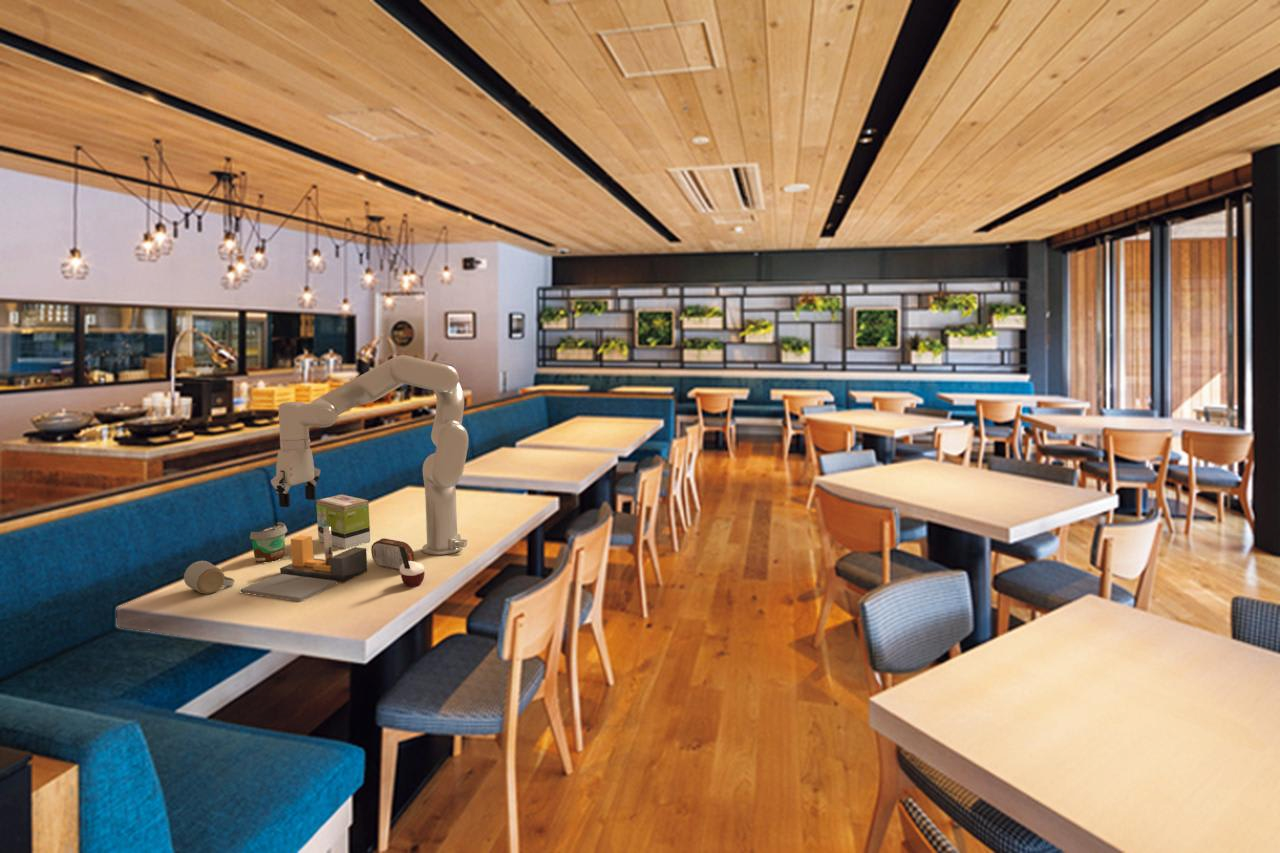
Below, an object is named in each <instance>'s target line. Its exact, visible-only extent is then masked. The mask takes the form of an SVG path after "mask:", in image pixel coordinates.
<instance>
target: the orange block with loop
mask: <svg viewBox="0 0 1280 853" xmlns="http://www.w3.org/2000/svg"><path fill="white" fill-rule="evenodd" d="M313 543H314V542H313V536H312V535H303V534H300V535H296V536H295V537H292V538H290V548H291V550H290V551H291V564H292V565H294V566H302V567H304V566H311V567H313V569H314V570H322V571H330V572H331V565H330V566H328V565H326V563H325V561H321V560H314V559H315V558H314V547H313V545H314V544H313ZM313 558H314V559H313Z"/></svg>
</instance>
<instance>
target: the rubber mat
mask: <svg viewBox="0 0 1280 853" xmlns="http://www.w3.org/2000/svg"><path fill="white" fill-rule="evenodd" d="M336 585H337V582H336V581H332V580H325V579H317V578H310V577H302V576H294V575H287V574H280V573H276V574H274V575H272V576H270V577H267V578H264V579H262V580H259V581H257V582H255V583H252V584H250V585H248V586H245V587H243V588H240V589H239V590H240V591H239V592H242V593H241V594H245V593H250V594H249V595H252V594H256V595H255V596H259V595H263V596H262V597H265V596H269V597H268V598H272V597H276V598H275V599H279V598H283V599H282V600H286V599H289V600H288V601H293V600H297V601H296V602H300V601H301V602H303V601H305V600H306V598H307V599H309V598H311V597H312V596H315V595H318V594H319V593H322V592H324V591H325V590H327V589H330V588H333V587H334V586H336ZM304 599H305V600H304ZM302 600H303V601H302Z"/></svg>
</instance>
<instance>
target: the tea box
mask: <svg viewBox="0 0 1280 853" xmlns="http://www.w3.org/2000/svg"><path fill="white" fill-rule="evenodd" d="M315 506H316V519H317V534H318V541H319V542H321V543H324V530H323V527H325V526H331V536H332V546H334V547H338V548H341V549H343V550H346V548H347V549H351V548H354V547H357V546H360V545H359V544H361V545H363V544H362V543H364V544H366V542H367V543H370V542H371V525H370V509H369V506H370V504H369V500H367V499H363V498H359V497H354V496H349V495H347V494H337V495H333V496H330V497H325V498H320V499H315ZM369 541H370V542H369ZM356 545H357V546H356ZM353 546H354V547H353ZM350 547H351V548H350Z"/></svg>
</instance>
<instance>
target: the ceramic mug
mask: <svg viewBox="0 0 1280 853" xmlns="http://www.w3.org/2000/svg"><path fill="white" fill-rule="evenodd" d="M183 580H184V583H185V585H186V586H187V587H189V588H190V589H192V590H194V591H197V592H199V593H201V594H205V595H206V594H209V595H210V594H214V593H216V592H218V591H219V590H221V588H223V586H226V587H227V586H228V587H232V586H234V582H235V579H234V578H231V577H229V576H225V573H224V572H223V570H222V569H221V568H219V567H217V566H215V565H214V564H212V563H211V562H209V561H206V560H198V561H195V562H193V563H192V564H190V565H189V566H188V567H187V568H186V570H185V571H184V574H183Z"/></svg>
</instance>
